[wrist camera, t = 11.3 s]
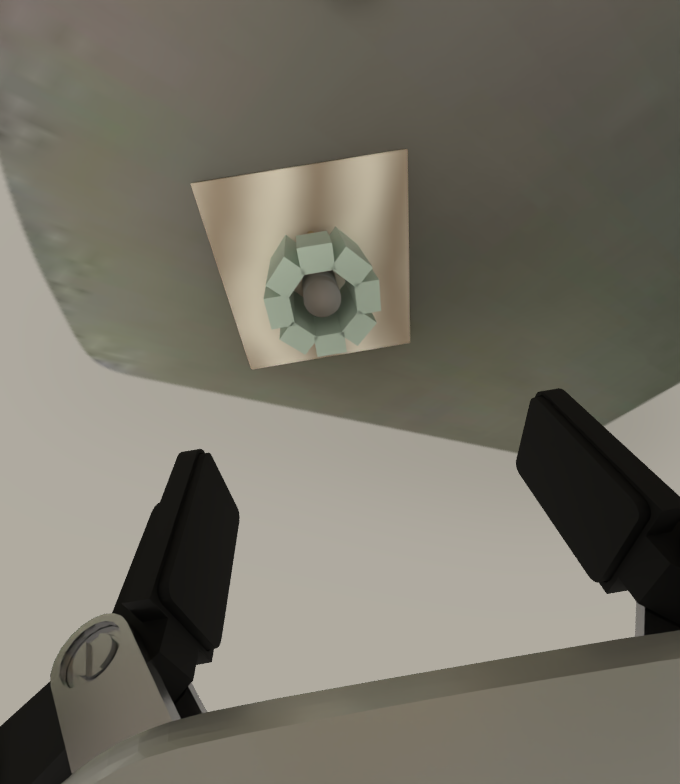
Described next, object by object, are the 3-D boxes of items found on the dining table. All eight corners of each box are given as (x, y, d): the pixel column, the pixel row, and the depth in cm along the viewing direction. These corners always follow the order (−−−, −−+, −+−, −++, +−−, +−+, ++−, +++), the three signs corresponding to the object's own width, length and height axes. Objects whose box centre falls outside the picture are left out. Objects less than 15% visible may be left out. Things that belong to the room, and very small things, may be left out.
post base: (403, 148, 23) (433, 149, 18) (407, 337, 31) (428, 372, 26) (194, 182, 23) (167, 192, 18) (252, 363, 31) (245, 404, 26)
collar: (359, 217, 24) (376, 235, 20) (367, 311, 28) (383, 345, 24) (259, 233, 24) (251, 255, 19) (282, 326, 28) (280, 363, 23)
